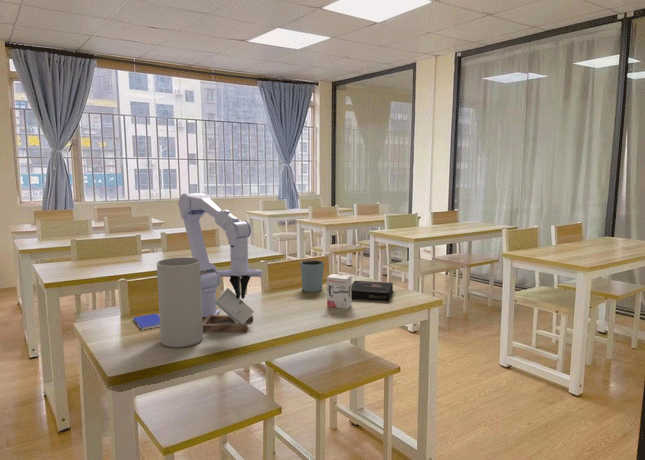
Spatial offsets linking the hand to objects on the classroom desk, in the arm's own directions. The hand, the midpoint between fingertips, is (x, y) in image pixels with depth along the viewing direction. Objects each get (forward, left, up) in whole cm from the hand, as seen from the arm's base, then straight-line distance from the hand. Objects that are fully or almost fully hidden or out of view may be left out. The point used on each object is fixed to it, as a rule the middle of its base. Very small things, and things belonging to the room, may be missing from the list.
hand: (240, 298), depth 160 cm
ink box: (+32, +24, -10) cm, 42 cm away
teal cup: (+20, +48, -10) cm, 53 cm away
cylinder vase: (-16, -14, -10) cm, 23 cm away
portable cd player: (+45, +41, -11) cm, 62 cm away
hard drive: (-32, +2, -11) cm, 34 cm away
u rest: (-5, 0, -10) cm, 11 cm away
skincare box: (+2, 0, -7) cm, 8 cm away
